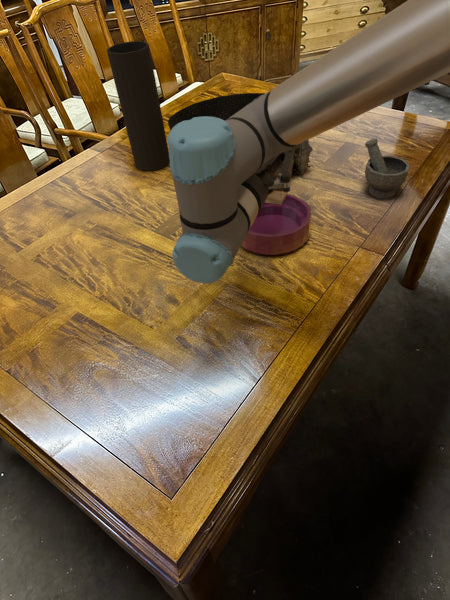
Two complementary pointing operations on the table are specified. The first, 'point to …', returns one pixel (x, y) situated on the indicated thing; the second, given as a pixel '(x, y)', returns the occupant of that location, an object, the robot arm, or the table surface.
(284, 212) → the bowl
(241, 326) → the table surface
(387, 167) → the mortar and pestle
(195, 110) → the basket
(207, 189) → the robot arm
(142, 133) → the vase
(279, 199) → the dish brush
